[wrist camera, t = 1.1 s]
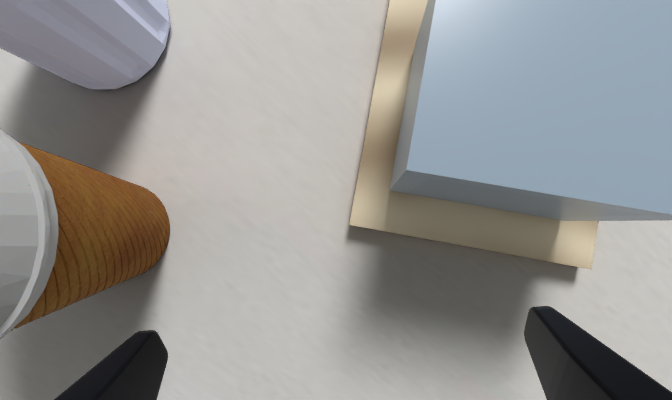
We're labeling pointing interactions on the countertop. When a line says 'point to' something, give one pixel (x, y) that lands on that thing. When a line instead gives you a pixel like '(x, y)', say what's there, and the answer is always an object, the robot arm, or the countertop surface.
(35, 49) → the soap bottle
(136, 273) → the disposable coffee cup
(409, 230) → the flat panel
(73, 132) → the countertop surface
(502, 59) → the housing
